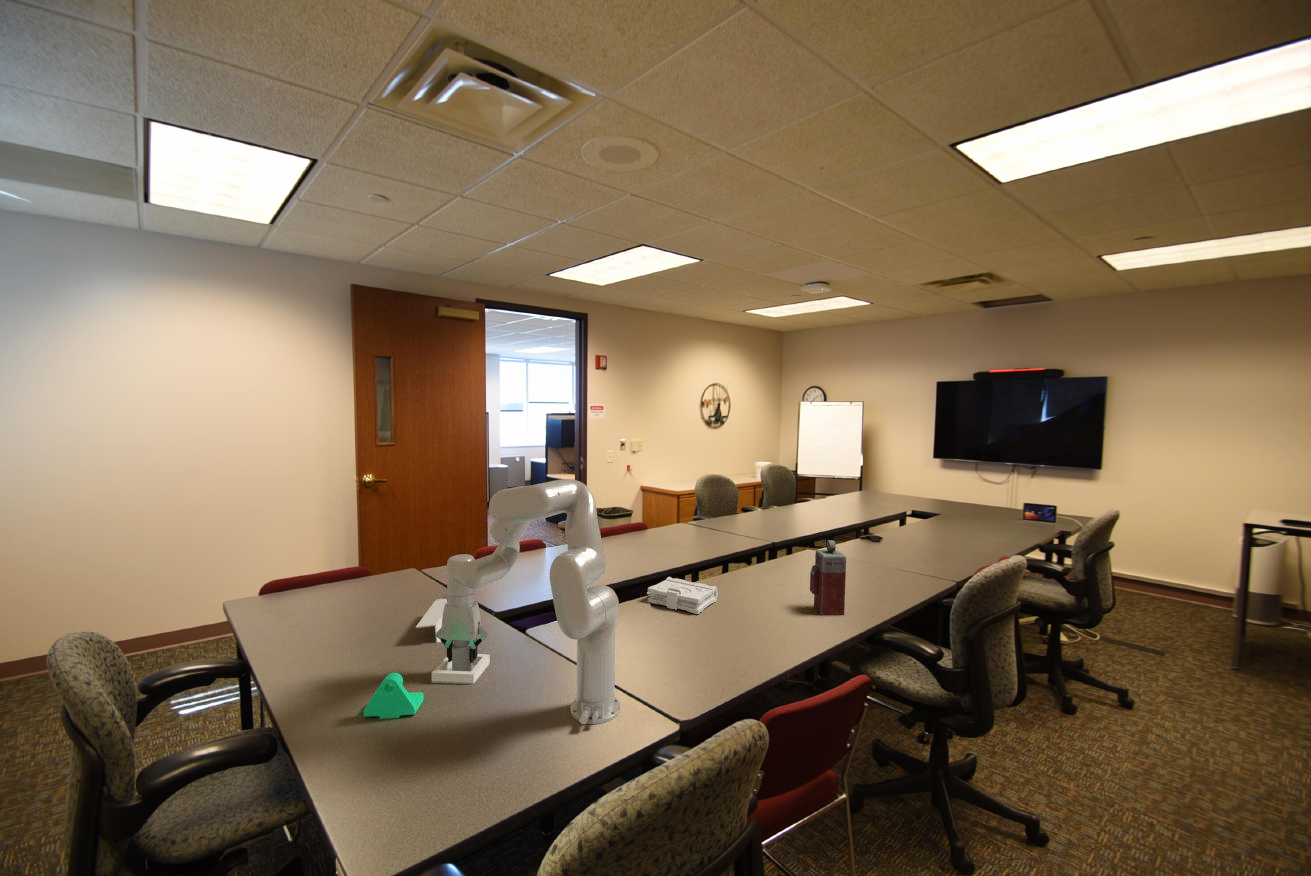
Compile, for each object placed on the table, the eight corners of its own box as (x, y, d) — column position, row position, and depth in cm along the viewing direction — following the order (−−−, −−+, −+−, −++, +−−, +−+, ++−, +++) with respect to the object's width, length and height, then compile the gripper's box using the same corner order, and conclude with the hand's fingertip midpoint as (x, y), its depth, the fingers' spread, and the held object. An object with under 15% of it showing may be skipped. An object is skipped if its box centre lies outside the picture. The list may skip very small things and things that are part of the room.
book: (660, 588, 232) (660, 570, 231) (719, 601, 217) (719, 582, 217) (635, 601, 215) (635, 582, 215) (697, 616, 201) (698, 596, 200)
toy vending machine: (807, 607, 210) (809, 537, 208) (836, 608, 210) (838, 537, 208) (814, 616, 201) (817, 543, 199) (844, 616, 201) (847, 543, 199)
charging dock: (473, 684, 148) (473, 674, 148) (431, 682, 149) (431, 672, 149) (489, 664, 160) (489, 654, 160) (450, 662, 161) (450, 652, 161)
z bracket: (417, 645, 173) (415, 626, 173) (437, 616, 198) (435, 599, 198) (456, 640, 175) (454, 622, 175) (471, 612, 200) (469, 595, 199)
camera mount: (424, 701, 140) (424, 663, 139) (414, 718, 132) (414, 678, 132) (376, 703, 139) (376, 664, 138) (363, 720, 131) (363, 679, 130)
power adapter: (472, 670, 154) (471, 629, 153) (452, 673, 152) (451, 631, 152) (472, 665, 157) (472, 625, 156) (452, 668, 155) (452, 627, 154)
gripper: (426, 602, 150) (426, 665, 151) (485, 604, 149) (486, 667, 150) (438, 593, 158) (439, 653, 158) (495, 595, 156) (496, 655, 157)
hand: (462, 659), depth 154 cm, fingers closed on power adapter, 5 cm apart
